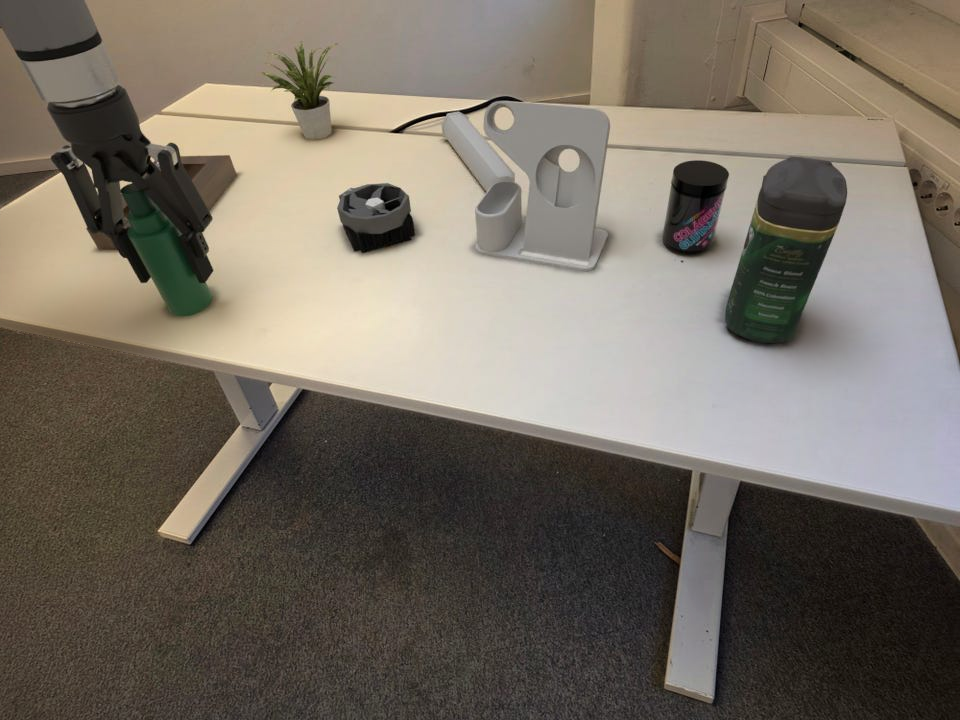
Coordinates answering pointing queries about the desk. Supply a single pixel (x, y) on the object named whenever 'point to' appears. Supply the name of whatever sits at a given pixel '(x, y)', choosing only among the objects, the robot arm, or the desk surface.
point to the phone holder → (546, 186)
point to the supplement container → (694, 206)
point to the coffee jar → (785, 248)
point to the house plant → (307, 94)
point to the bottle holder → (207, 178)
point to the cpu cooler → (375, 216)
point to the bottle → (164, 255)
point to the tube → (475, 151)
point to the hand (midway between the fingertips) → (177, 276)
